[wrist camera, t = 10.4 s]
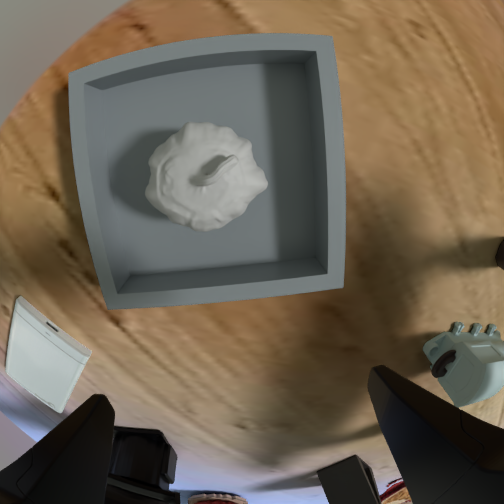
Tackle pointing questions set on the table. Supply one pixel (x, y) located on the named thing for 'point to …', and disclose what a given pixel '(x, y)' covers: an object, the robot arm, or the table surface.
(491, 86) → the table surface
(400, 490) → the plate with food
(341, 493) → the phone stand
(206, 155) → the garlic
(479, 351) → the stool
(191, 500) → the cake
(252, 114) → the tray
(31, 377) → the hard drive
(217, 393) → the table surface
